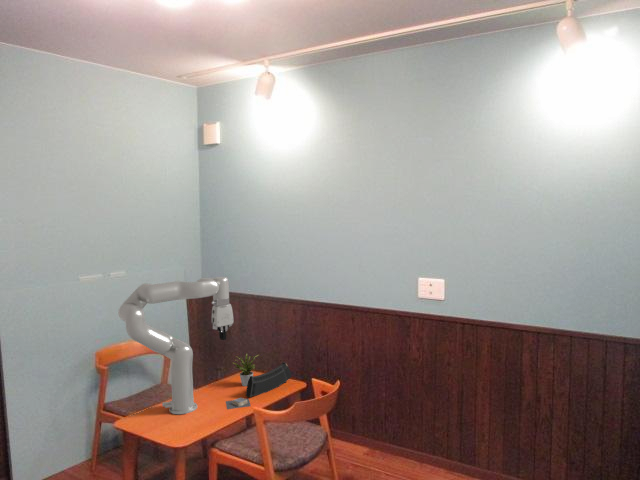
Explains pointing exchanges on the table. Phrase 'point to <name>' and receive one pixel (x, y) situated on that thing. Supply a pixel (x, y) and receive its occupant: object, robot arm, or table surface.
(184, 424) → the table surface
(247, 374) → the house plant
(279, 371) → the magazine
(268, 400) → the table surface
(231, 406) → the mat
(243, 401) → the tile
